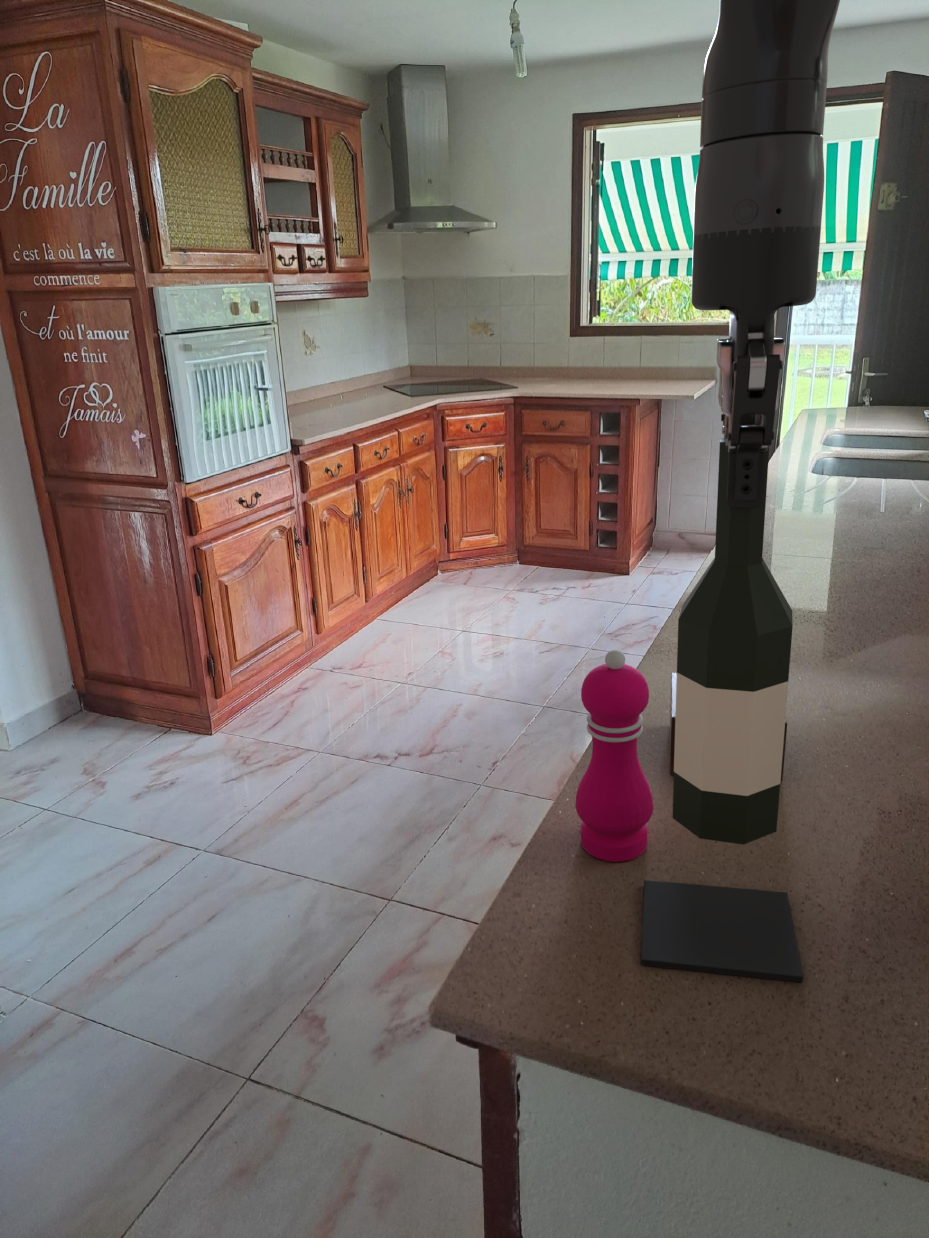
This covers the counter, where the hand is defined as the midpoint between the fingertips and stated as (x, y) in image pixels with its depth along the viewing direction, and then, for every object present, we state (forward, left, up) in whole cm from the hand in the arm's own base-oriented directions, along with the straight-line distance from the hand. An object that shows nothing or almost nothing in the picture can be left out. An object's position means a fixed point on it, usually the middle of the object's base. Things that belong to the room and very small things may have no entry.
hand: (741, 499), depth 60 cm
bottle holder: (-2, -29, -36) cm, 46 cm away
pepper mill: (+9, -10, -36) cm, 39 cm away
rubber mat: (0, +1, -36) cm, 36 cm away
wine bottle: (0, 0, -25) cm, 25 cm away
